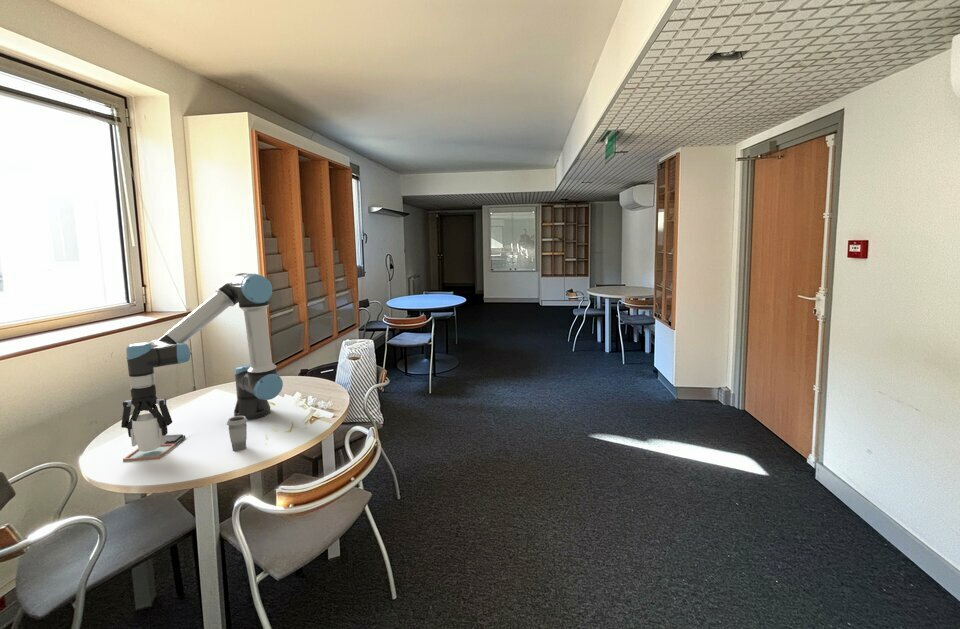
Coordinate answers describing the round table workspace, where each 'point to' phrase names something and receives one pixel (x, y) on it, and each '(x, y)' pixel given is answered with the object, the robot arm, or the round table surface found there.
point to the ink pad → (174, 439)
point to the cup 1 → (146, 432)
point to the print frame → (149, 453)
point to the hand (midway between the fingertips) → (149, 444)
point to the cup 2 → (238, 432)
